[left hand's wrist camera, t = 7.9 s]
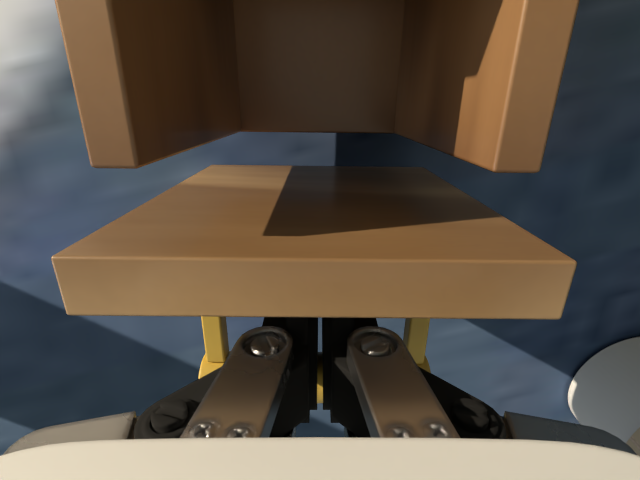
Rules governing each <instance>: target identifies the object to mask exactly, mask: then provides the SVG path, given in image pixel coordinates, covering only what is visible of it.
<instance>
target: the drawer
mask: <svg viewBox="0 0 640 480" xmlns="http://www.w3.org/2000/svg"><path fill="white" fill-rule="evenodd" d="M579 1H580V0H55V4H56V8H57V13H58V17H59V22H60V27H61V31H62V36H63V40H64V45H65V49H66V54H67V59H68V63H69V68H70V72H71V77H72V81H73V86H74V91H75V95H76V100H77V104H78V109H79V114H80V118H81V123H82V127H83V132H84V136H85V141H86V146H87V150H88V155H89V159H90V164H91V166H92V167H95V168H139V167H142V166H145V165H148V164H150V163H153V162H156V161H159V160H162V159H164V158H167V157H170V156H173V155H176V154H179V153H181V152H184V151H187V150H190V149H193V148H195V147H198V146H201V145H204V144H207V143H209V142H212V141H215V140H218V139H221V138H224V137H226V136H229V135H232V134H235V133H238V132H322V133H395V134H398V135H401V136H403V137H406V138H408V139H411V140H413V141H416V142H418V143H421V144H423V145H426V146H429V147H431V148H434V149H436V150H439V151H441V152H444V153H446V154H449V155H451V156H454V157H457V158H459V159H462V160H464V161H467V162H469V163H472V164H474V165H477V166H479V167H482V168H485V169H487V170H490V171H492V172H495V173H536V172H539V171H540V168H541V164H542V160H543V156H544V151H545V147H546V143H547V138H548V134H549V130H550V126H551V121H552V117H553V113H554V108H555V104H556V100H557V95H558V91H559V87H560V83H561V78H562V74H563V70H564V65H565V61H566V57H567V53H568V48H569V44H570V40H571V35H572V31H573V27H574V23H575V18H576V14H577V10H578V5H579ZM51 260H52V264H53V267H54V271H55V274H56V278H57V281H58V285H59V288H60V292H61V295H62V299H63V302H64V306H65V309H66V313H67V314H68V315H92V316H201V319H202V327H203V335H204V343H205V351H206V354H205V355H204V357H203V360H202V363H201V366H200V371H199V378H198V379H200V378H201V377H203V376H205V375H207V374H209V373H211V372H212V371H214V370H216V369H218V368H220V367H222V366H223V364H224V362H225V361H226V359H227V357H228V355H229V354H230V352H231V351H229V346H228V336H227V325H226V317H329V318H406V320H405V329H404V338H403V342H404V344H405V345H406V347H407V349H408V350H409V352H410V354H411V355H412V357H413V359H414V361H415V362H416V364H417V366H418V367H420V368H422V369H424V370H426V371H428V372H429V373H431V372H430V367H429V363H428V361H427V358H426V356H425V349H426V342H427V335H428V328H429V321H430V318H448V319H560V318H561V316H562V313H563V310H564V306H565V303H566V300H567V296H568V293H569V290H570V286H571V283H572V280H573V276H574V273H575V270H576V266H577V262H576V261H575V260H574V259H572V258H570V257H569V256H567V255H565V254H564V253H562V252H561V251H559V250H557V249H556V248H554V247H552V246H551V245H549V244H547V243H546V242H544V241H543V240H541V239H539V238H538V237H536V236H534V235H533V234H531V233H530V232H528V231H526V230H525V229H523V228H521V227H520V226H518V225H516V224H515V223H513V222H512V221H510V220H508V219H507V218H505V217H503V216H502V215H500V214H499V213H497V212H495V211H494V210H492V209H490V208H489V207H487V206H485V205H484V204H482V203H481V202H479V201H477V200H476V199H474V198H472V197H471V196H469V195H468V194H466V193H464V192H463V191H461V190H459V189H458V188H456V187H454V186H453V185H451V184H450V183H448V182H446V181H445V180H443V179H441V178H440V177H438V176H437V175H435V174H433V173H432V172H430V171H428V170H427V169H425V168H423V167H359V166H269V165H211V166H209V167H207V168H205V169H204V170H202V171H200V172H199V173H197V174H195V175H193V176H192V177H190V178H188V179H186V180H185V181H183V182H181V183H179V184H178V185H176V186H174V187H172V188H171V189H169V190H167V191H165V192H164V193H162V194H160V195H158V196H157V197H155V198H153V199H151V200H150V201H148V202H146V203H144V204H143V205H141V206H139V207H137V208H136V209H134V210H132V211H130V212H129V213H127V214H125V215H123V216H122V217H120V218H118V219H116V220H115V221H113V222H111V223H109V224H108V225H106V226H104V227H102V228H101V229H99V230H97V231H95V232H94V233H92V234H90V235H88V236H87V237H85V238H83V239H81V240H80V241H78V242H76V243H74V244H73V245H71V246H69V247H67V248H66V249H64V250H62V251H60V252H59V253H57V254H55V255H53V256H52V258H51ZM317 403H323V357H322V352H318V364H317Z"/></svg>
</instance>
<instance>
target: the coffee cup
mask: <svg viewBox="0 0 640 480" xmlns="http://www.w3.org/2000/svg"><path fill="white" fill-rule="evenodd" d="M568 403H569V407H570V409H571V411H572V413H573V414H574V416H575V417H576V419H577V420H578V421H579V423H580V424H581V425H586V426H591V427H595V428H598V429H601V430H605V431H607V432H608V433H610V434H612V435H614V436H616V437H618V438H619V439H621V440H622V441H623V442H625V443H626V444H627V445H629V446H630V447H631V448H632V449H633V451H634V452H635V453H636V454H637V455H638V456H640V337H636V338H631V339H627V340H624V341H621V342H618V343H615V344H613V345H611V346H609V347H607V348H605V349H603V350H602V351H600V352H598V353H597V354H596V355H594V356H593V357H592V358H590V359H589V360H588V361H587V362H586V363H585V364H584V365H583V366H582V367H581V368H580V369H579V371H578V372H577V373H576V375H575V377H574V378H573V380H572V382H571V385H570V388H569V392H568Z"/></svg>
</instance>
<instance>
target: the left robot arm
mask: <svg viewBox="0 0 640 480" xmlns="http://www.w3.org/2000/svg"><path fill="white" fill-rule="evenodd" d="M322 357H323V410H330V413H331V423H340V424H342V425H343V426H344V436H345V438H342V437H298V438H295V436H296V426H297V425H298V424H300V423H309V415H310V410H317V364H318V317H264V321H263V325H262V327H257V328H254V329H251V330H249V331H247V332H246V333H244V334H243V335H242V336H241V337H240V338H239V339H238V340H237V342H236V344H235V345H234V347H233V349H232V350H231V352H230V354H229V355H228V357H227V359H226V361H225V362H224V364H223V366H222V367H220V368H218V369H216V370H214V371H212V372H211V373H209V374H207V375H205V376H203V377H201V378H200V379H198V380H196V381H194V382H192V383H191V384H189V385H187V386H185V387H183V388H181V389H180V390H178V391H176V392H174V393H172V394H170V395H169V396H167V397H165V398H163V399H161V400H159V401H158V402H156V403H155V404H153V405H152V406H150V407H149V408H147V409H146V410H145V411H144V412H143V414H142V415H141V416H137V417H136V413H135V411H133V412H127V413H122V414H116V415H110V416H105V417H99V418H94V419H88V420H82V421H77V422H71V423H66V424H60V425H54V426H49V427H45V428H42V429H39V430H35V431H33V432H32V433H30V434H28V435H26V436H24V437H22V438H21V439H19V440H18V441H17V442H15V443H14V444H13V445H11V446H10V447H9V448H8V449H7V451H6V452H5V453H4V454H3V455H2V456H0V480H640V456H638V455H637V454H636V453H635V452H634V451H633V449H632V448H631V447H630V446H629V445H627V444H626V443H625V442H623V441H622V440H621V439H619V438H618V437H616V436H614V435H612V434H610V433H608V432H607V431H605V430H601V429H598V428H595V427H591V426H586V425H580V424H574V423H569V422H563V421H558V420H552V419H546V418H541V417H535V416H530V415H524V414H518V413H513V412H507V411H505V413H504V417H503V416H499V414H498V413H497V412H496V411H495V410H494V409H493V408H491V407H490V406H488V405H487V404H485V403H484V402H482V401H481V400H479V399H477V398H475V397H473V396H471V395H470V394H468V393H466V392H464V391H462V390H461V389H459V388H457V387H455V386H453V385H451V384H450V383H448V382H446V381H444V380H442V379H440V378H439V377H437V376H435V375H433V374H431V373H429V372H428V371H426V370H424V369H422V368H420V367H418V366H417V364H416V362H415V361H414V359H413V357H412V355H411V354H410V352H409V350H408V349H407V347H406V345H405V344H404V342H403V340H402V339H401V338H400V337H399V336H398V335H397V334H396V333H394V332H393V331H391V330H389V329H386V328H383V327H378V325H377V321H376V318H329V317H322Z"/></svg>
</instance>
